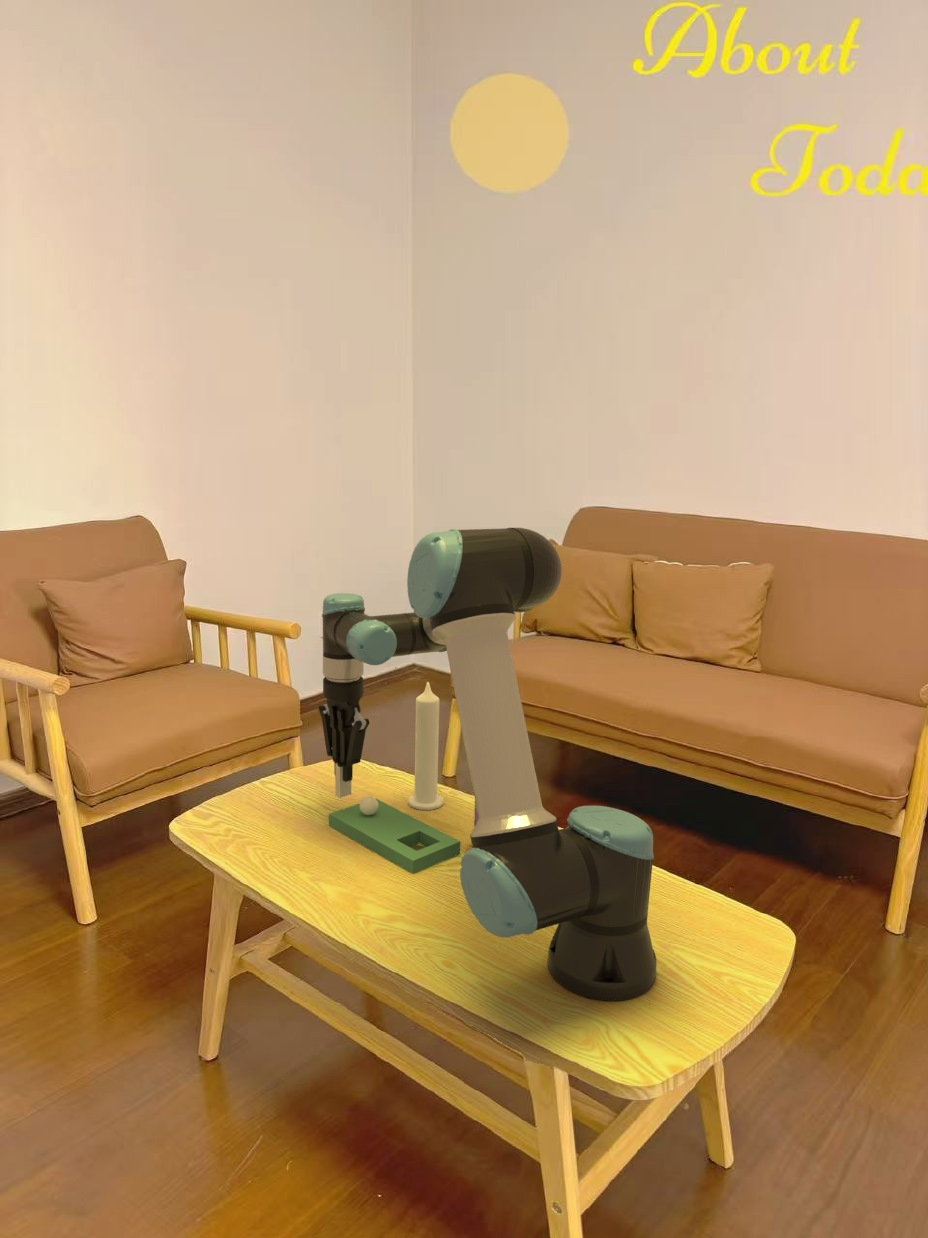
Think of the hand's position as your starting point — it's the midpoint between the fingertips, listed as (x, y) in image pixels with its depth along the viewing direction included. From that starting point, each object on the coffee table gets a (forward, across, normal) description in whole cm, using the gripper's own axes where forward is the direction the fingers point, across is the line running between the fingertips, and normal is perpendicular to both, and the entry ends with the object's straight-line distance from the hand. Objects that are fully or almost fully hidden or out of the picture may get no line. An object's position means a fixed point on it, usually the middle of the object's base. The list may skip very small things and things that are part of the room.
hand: (343, 794), depth 178 cm
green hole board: (+4, -15, 0) cm, 15 cm away
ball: (0, -8, 0) cm, 8 cm away
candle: (+4, -7, -15) cm, 17 cm away
